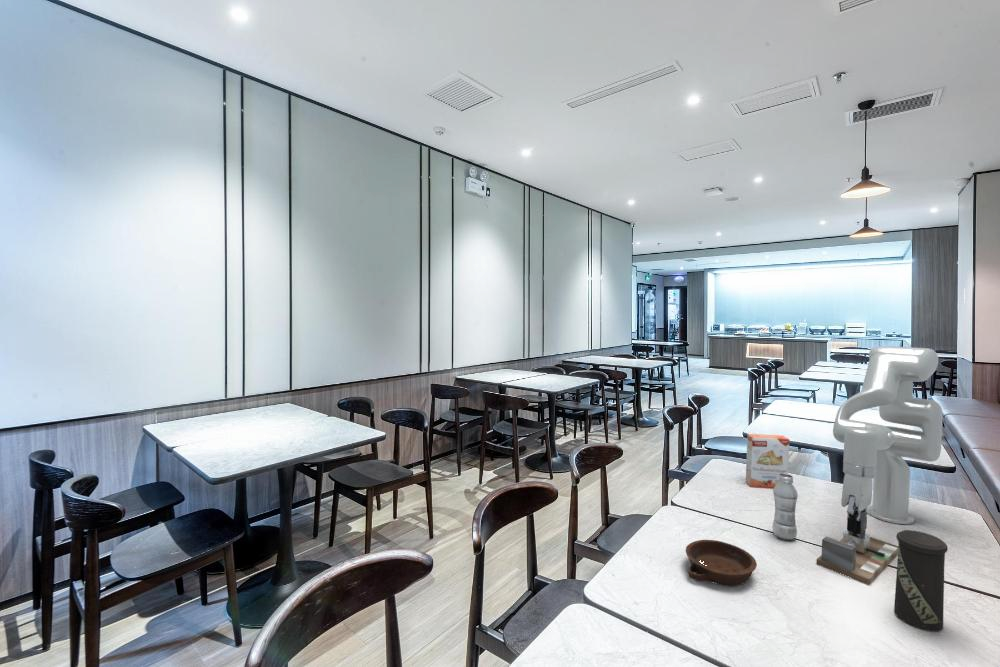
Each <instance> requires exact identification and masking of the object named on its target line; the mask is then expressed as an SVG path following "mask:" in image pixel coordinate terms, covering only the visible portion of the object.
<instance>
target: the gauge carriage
mask: <svg viewBox="0 0 1000 667" xmlns="http://www.w3.org/2000/svg"><path fill="white" fill-rule="evenodd" d="M854 508H855V507H854ZM855 509H857V508H855ZM854 513H856V514H857V512H856V511H854ZM860 521H861V534H856V533H853V532H850V531H848V530H847V529H846V530H845V531H844V532H843V533H842V538H843V542H844V543H847V544H850V545H853V546H856V551H858V552H861V553H865V552H866V551H869V552H872V553H875V554H878V555H880V556H883V557H884V556H885V554H884V553H881V552H878V551H875V550H872V549H870V548H869V545H870V537H871V535H870V534H868V533H866V530H867V528H866V512H865V511H864V510H862V511H861V515H860Z"/></svg>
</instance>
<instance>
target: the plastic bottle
mask: <svg viewBox="0 0 1000 667" xmlns="http://www.w3.org/2000/svg"><path fill="white" fill-rule="evenodd" d="M779 481H780V482H779V483H778V484H777V485H776V486H775V487H774V488H772V490H773V498H774V517H773V518H774V519H773V522H772V525H771V527H772V532H773V534H774V535H775V537H777V538H779V539H782V540H786V541H792V540H795V538H797V535H798V530H797V529H798V528H797V524H796V523H797V522H796V507H797V503H798V502H797V501H798V496H799V494H798V491H797V489H796V487H795V485H794V484H793V483H794V476H793V475H791V474H779Z"/></svg>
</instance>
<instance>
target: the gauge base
mask: <svg viewBox="0 0 1000 667" xmlns="http://www.w3.org/2000/svg"><path fill="white" fill-rule="evenodd" d="M869 548H870V549H872V550H875V551H878V552H881V553H884V554H885V556H884V557H883V556H880V555H878V554H875V553H872V552H869V551H866V552H865V553H861V552H858V551H856V546H853V545H850V544H847V543H844V542H843V537H842V538H841V539H839V540H838V539H835V538H833V537H829V536H828V535H827V536H824V537H823V538H822V539H821V555H819V556H818V557H817V558H816V560H815V562H816V565H817V564H818V566H820V565H821V566H820V567H822V566H823V568H825V569H828V570H830V571H832V570H833V572H835V571H836V572H835V573H837V572H838V573H837V574H840V573H841V575H842V574H844V575H843V576H845V575H846V576H845V577H847V576H849V577H848V578H850V577H851V578H850V579H852V578H853V580H855V581H857V580H858V582H859V583H863V584H865V585H868V586H870V585H871V584H872V583H873V581H875V580H876V579H877V577H879V576H880V574H882V572H883V571H884V570H885V569H886V568H887V567H888V566H889V565H890V564H891V563H892V562H893V560H894V559H895V558H897V557H898V545H896V544H894V543H893V544H892V543H890V542H887V541H884V540H881V539H877V538H875V537H872V536H870V545H869Z"/></svg>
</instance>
